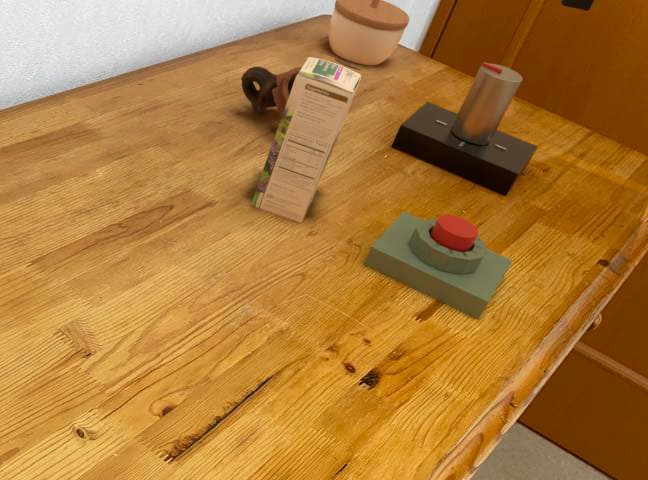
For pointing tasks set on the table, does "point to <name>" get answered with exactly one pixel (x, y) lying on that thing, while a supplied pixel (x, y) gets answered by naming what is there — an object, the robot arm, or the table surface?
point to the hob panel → (463, 149)
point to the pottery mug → (268, 88)
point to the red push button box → (438, 265)
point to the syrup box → (305, 138)
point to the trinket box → (366, 30)
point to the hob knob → (486, 103)
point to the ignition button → (454, 233)
